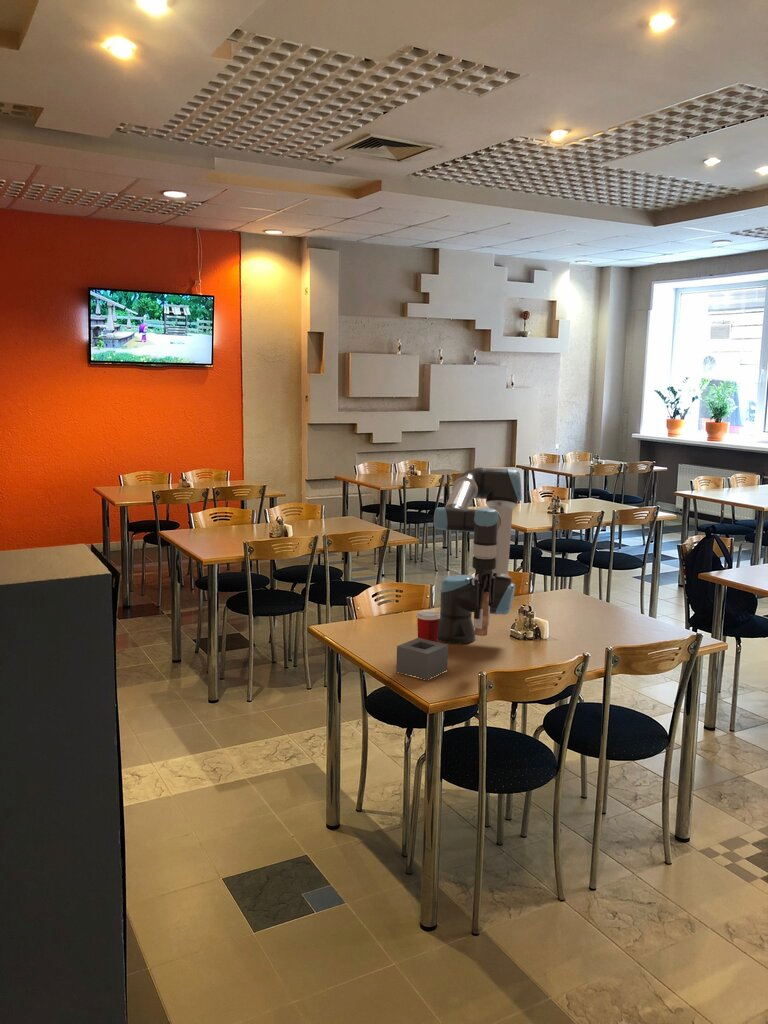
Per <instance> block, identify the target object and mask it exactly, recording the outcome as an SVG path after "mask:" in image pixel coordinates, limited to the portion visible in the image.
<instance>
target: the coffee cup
mask: <svg viewBox="0 0 768 1024" xmlns="http://www.w3.org/2000/svg"><path fill="white" fill-rule="evenodd" d="M415 618H416V620H417V621H416V622H417V623H416V624H417V638H421V639H426V640H430V641H434V642H438V640H437V635H438V624H439V618H440V613H439V612H438V611H436V610H431V609H423V610H419V611H418V612H417V613H416V615H415Z"/></svg>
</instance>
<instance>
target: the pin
mask: <svg viewBox="0 0 768 1024" xmlns="http://www.w3.org/2000/svg"><path fill="white" fill-rule="evenodd" d="M488 606H489V592H486V591H484V593H483V599H482V606H481V609H483V615H482V629H478V628H474V630H475V634H476V635H475V636H478V637H479V636H480V637H484V636H485V637H486V636H487V635H488V627H489V626H488Z"/></svg>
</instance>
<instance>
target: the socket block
mask: <svg viewBox="0 0 768 1024" xmlns="http://www.w3.org/2000/svg"><path fill="white" fill-rule="evenodd" d="M448 663H449V644H447V643H442V642H438V641H437V642H434V641H430V640H426V639H421V638H418V637H417V638H414V639H412V640H411V639H410V640H407V642H404V643H401V644H399V645H397V646H396V665H395V666H396V672H399V673H403V674H407V675H412V676H416V677H419V678H422V679H425V680H428V679H430V678H431V677H434V676H436V675H438V674H440V673H442V672H444V671H446V670H447V671H448V666H449V665H448ZM396 672H395V673H396ZM399 673H398V674H399ZM403 674H402V675H403ZM407 675H406V676H407ZM434 678H435V677H434ZM430 680H431V679H430ZM428 681H429V680H428Z"/></svg>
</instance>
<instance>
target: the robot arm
mask: <svg viewBox="0 0 768 1024" xmlns="http://www.w3.org/2000/svg"><path fill="white" fill-rule="evenodd" d="M521 482H522V481H521V474H520V472H519V470H517V469H511V468H499V467H498V468H493V467H492V468H491V467H489V468H488V467H476V468H475V467H474V468H470V469H468V470H466V471H464V472H462V473H460V474H459V475H458V476H457V477H456V479H454V482H453V484H452V486H451V494H450V496H449V498H448V499H447V502H446V504H445V506H442V507H441V506H439V507H436V508H435V510H434V514H433V526H434V528H435V529H436V530H440V531H452V532H453V531H455V532H468V533H473V545H472V547H473V548H472V555H473V557H472V566H471V567H472V568H473V569H474V570H475V573H474V577H473V576H472V575H470V574H456V575H450V576H447V577H444V579H442V581H441V586H440V591H439V592H440V604H439V605H440V608H439V610H440V612H439V616H440V618H439V624H438V635H437V639H438V640H437V641H439V640H441V641H440V642H442V641H445V642H444V643H446V642H450V643H449V644H455V643H461V644H469V643H472V642H474V641H475V640H476V636H477V635H476V634H475V628H478V629H482V615H483V609H481V606H482V599H483V593H484V591H486V592H489V606H488V627H489V625H490V616H491V615H502V616H503V615H505V616H506V615H507V614H509V613H510V611H511V609H512V606H513V602H514V596H515V589H516V584H515V583H514V582H512V577H511V576H510V574H509V562H510V561H509V560H510V549H511V536H512V522H513V511H514V509H515V508H516V507H518V502H521V501H522V483H521ZM474 499H481V500H485V505H486V506H487V507H479V508H476V509H469V507H470V505H471V503H472V501H473V500H474ZM472 613H473V619H472ZM490 614H491V615H490ZM468 642H469V643H468Z"/></svg>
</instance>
